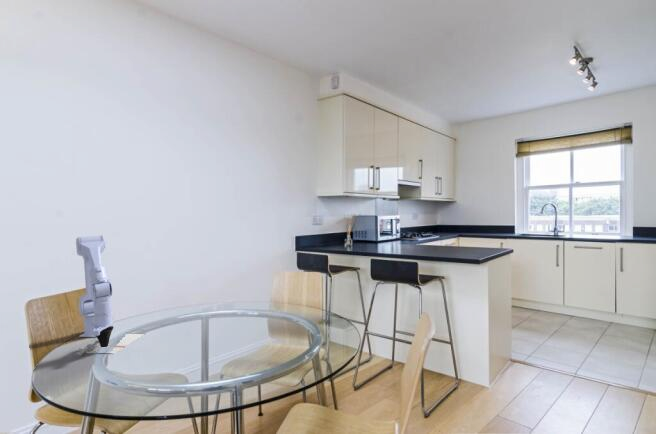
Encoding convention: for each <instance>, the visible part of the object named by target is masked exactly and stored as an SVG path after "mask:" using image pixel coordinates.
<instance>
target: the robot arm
mask: <svg viewBox="0 0 656 434" xmlns="http://www.w3.org/2000/svg"><path fill="white" fill-rule="evenodd" d="M105 238H106V237H105V236H104V235H94V236H93V235H92V236H83V237H82V236H81V237H79V236H78V237H76V239H75V245H76V254H77V256H80V257H82V258H83V266H84V268H83V269H84V280H85V281H84V283H85V292H84V293H83V294H82V295H81V296H80V297H79V298H78V312H79V315H80V316H82V317H83V331H84V333H82V334H80V335H79V338H97V340H99V343H100V346H101V348H102V347H107V346H108V344H109V339H110V338H111V334H112V332H113V330H114V326H113V323H114V317H112V316H113V315H112V299H111V296H112V295H113V285H112V282H111V281H110V279H109V278H108V274H107V269H106V267H104V266H102V263H103V262H102V257H101V255H102V253H103V252H104V250H105V249H106V240H105Z"/></svg>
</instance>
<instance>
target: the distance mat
mask: <svg viewBox="0 0 656 434" xmlns="http://www.w3.org/2000/svg"><path fill="white" fill-rule="evenodd" d="M128 333H129V334H126V335H125V337H123V338H122V340H120V342H119V343H118V344H117V345H116V346H115V347H114V349H113V351H112V352H111V354H110V355H114V354H117V353H118V352H119V351H121V350H122V349H124V348H126V347H127V346H128V345H130V344H132V343H134V342H135V341H136V340H139V338H141V337H143V336H145V335H146V333H147V332H128ZM84 353H85V354H97V353H96V351H95V350H90V351H85V352H84Z"/></svg>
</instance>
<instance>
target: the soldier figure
mask: <svg viewBox="0 0 656 434" xmlns="http://www.w3.org/2000/svg"><path fill="white" fill-rule="evenodd" d="M99 345H100V343H99V340H98V339H96V340H95V341H94V342H93V343H91V344H87V345H86V346H85V347H84V348H83V349H82V348H78V350H79V352H78V351H77V352H76V355H78V356H79V357H81V356H82V355H83V354H84V353H85V352H87V351H90V350H95V349H97V347H98V346H99Z"/></svg>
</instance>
